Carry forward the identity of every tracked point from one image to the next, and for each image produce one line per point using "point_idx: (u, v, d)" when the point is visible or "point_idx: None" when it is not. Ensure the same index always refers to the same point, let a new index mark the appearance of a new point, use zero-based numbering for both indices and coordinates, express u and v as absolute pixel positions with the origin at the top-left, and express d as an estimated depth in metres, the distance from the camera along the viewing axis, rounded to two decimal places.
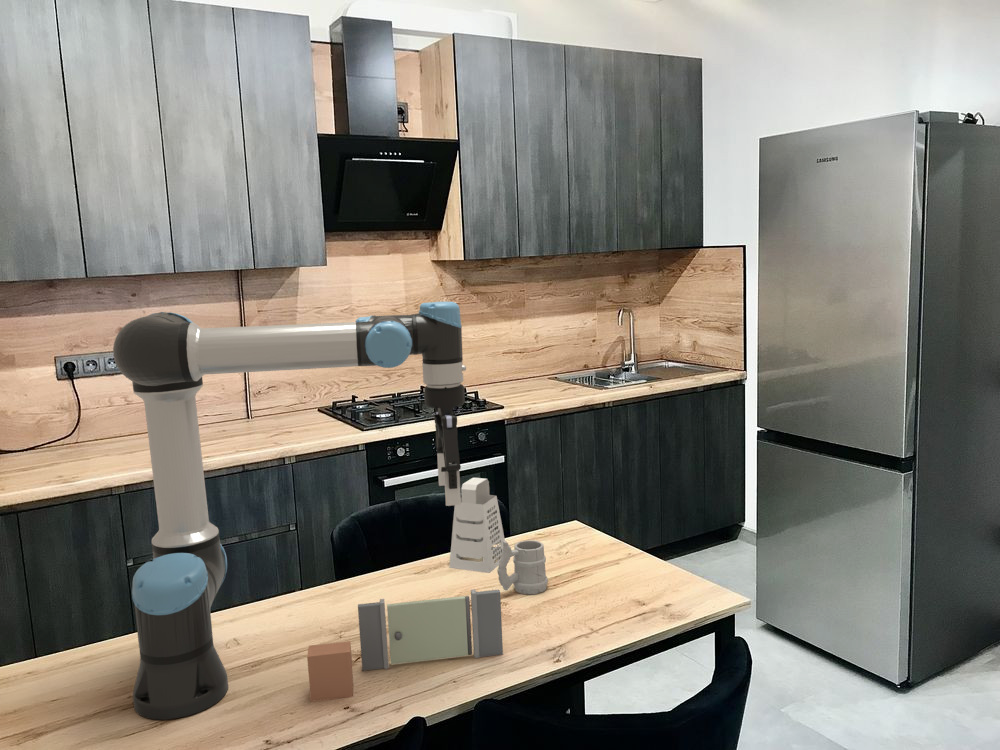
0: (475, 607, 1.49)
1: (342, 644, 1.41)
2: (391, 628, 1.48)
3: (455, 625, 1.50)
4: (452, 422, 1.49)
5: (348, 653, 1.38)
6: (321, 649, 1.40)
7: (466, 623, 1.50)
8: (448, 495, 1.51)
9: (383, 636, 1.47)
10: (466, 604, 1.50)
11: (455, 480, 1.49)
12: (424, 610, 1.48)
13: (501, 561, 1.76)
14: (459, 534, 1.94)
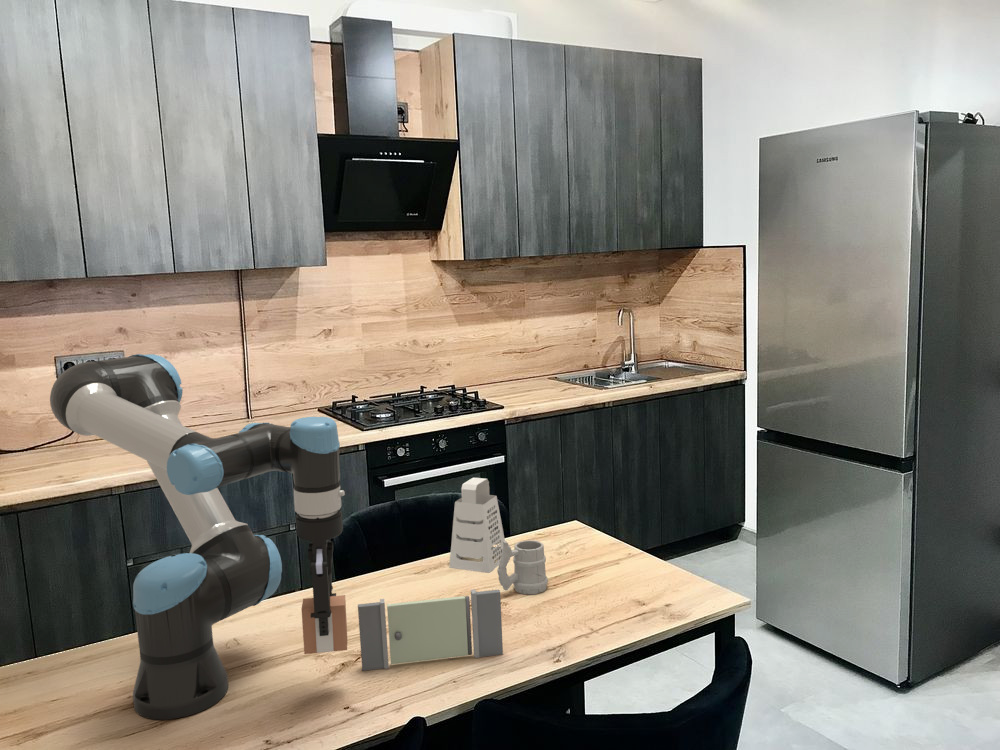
0: (475, 607, 1.49)
1: (337, 598, 1.40)
2: (391, 628, 1.48)
3: (455, 625, 1.50)
4: (322, 570, 1.31)
5: (343, 606, 1.37)
6: None
7: (466, 623, 1.50)
8: (319, 641, 1.37)
9: (383, 636, 1.47)
10: (466, 604, 1.50)
11: (326, 627, 1.35)
12: (424, 610, 1.48)
13: (501, 561, 1.76)
14: (459, 534, 1.94)
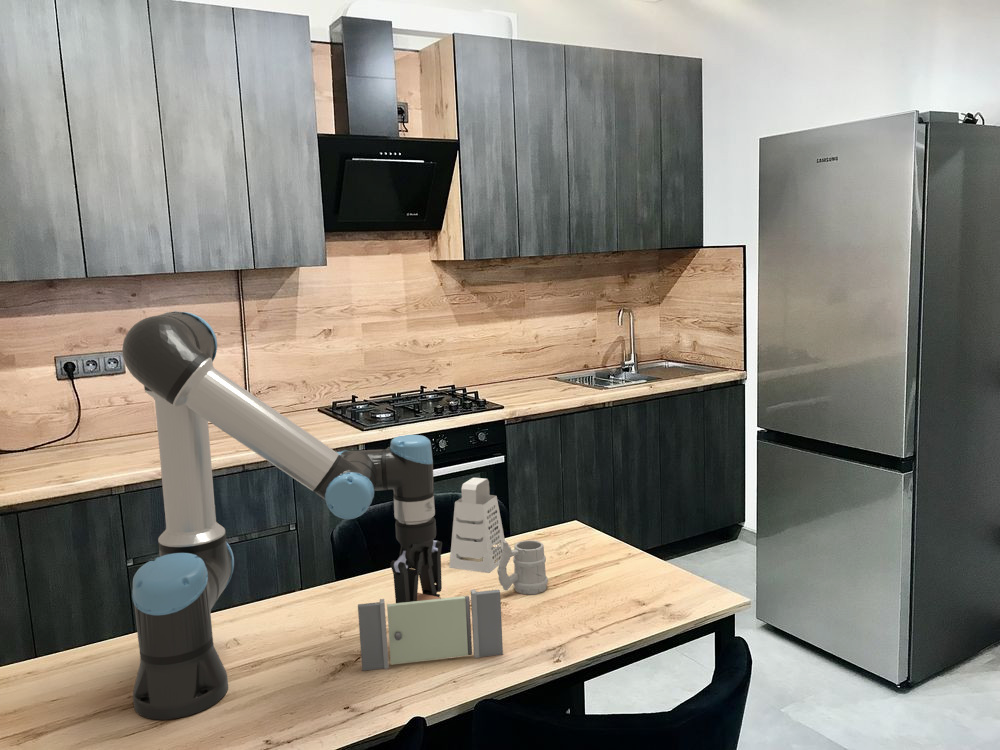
0: (475, 607, 1.49)
1: (432, 598, 1.56)
2: (391, 628, 1.48)
3: (455, 625, 1.50)
4: (399, 570, 1.50)
5: None
6: None
7: (466, 623, 1.50)
8: None
9: (383, 636, 1.47)
10: (466, 604, 1.50)
11: None
12: (424, 610, 1.48)
13: (501, 561, 1.76)
14: (459, 534, 1.94)
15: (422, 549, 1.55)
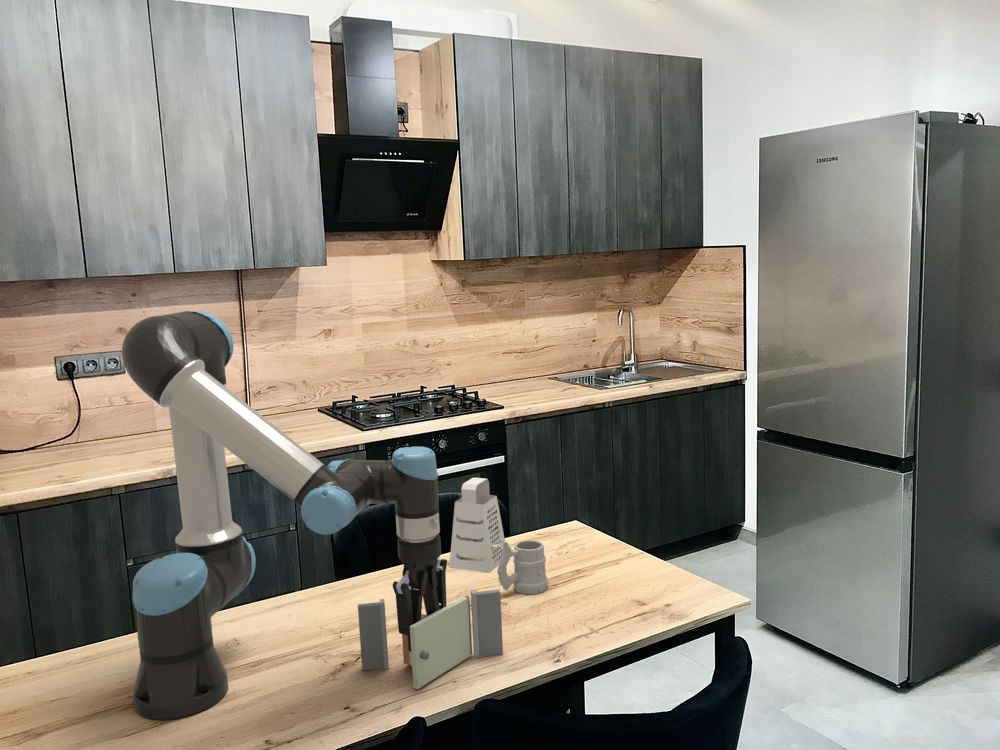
0: (475, 607, 1.49)
1: None
2: (417, 649, 1.39)
3: (461, 628, 1.48)
4: (402, 591, 1.40)
5: None
6: None
7: (468, 623, 1.50)
8: None
9: (383, 636, 1.47)
10: (468, 604, 1.50)
11: None
12: (440, 621, 1.44)
13: (501, 561, 1.76)
14: (459, 534, 1.94)
15: (426, 568, 1.45)
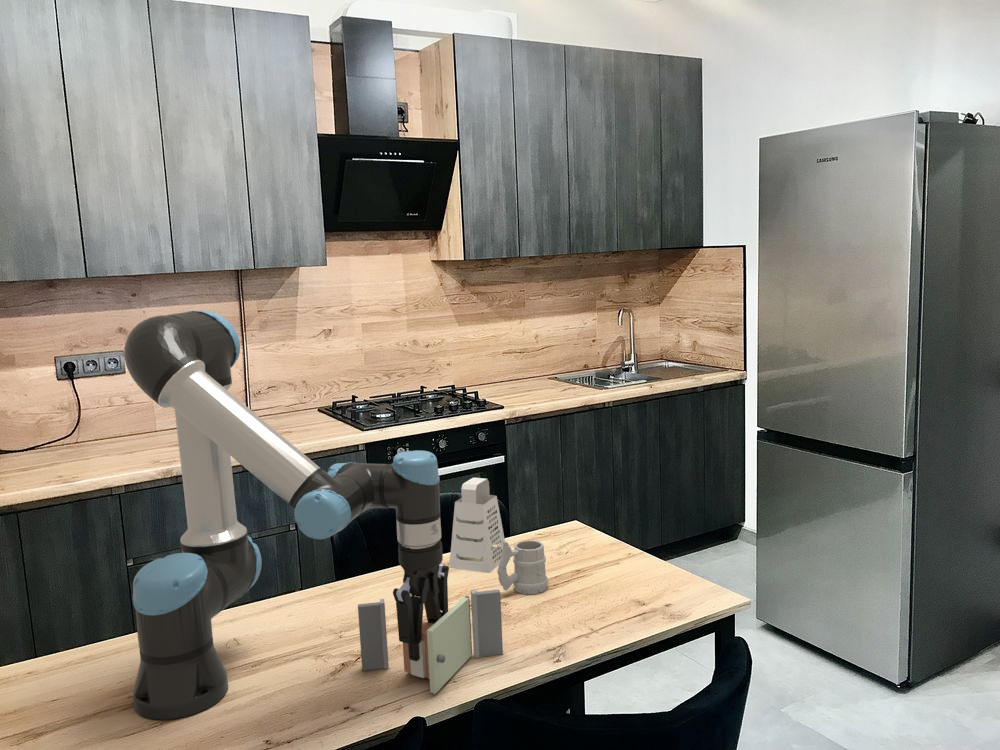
0: (475, 607, 1.49)
1: None
2: (435, 653, 1.38)
3: (465, 628, 1.48)
4: (402, 598, 1.37)
5: None
6: None
7: (469, 623, 1.50)
8: (413, 665, 1.43)
9: (383, 636, 1.47)
10: (468, 604, 1.50)
11: (414, 653, 1.41)
12: (450, 622, 1.43)
13: (501, 561, 1.76)
14: (459, 534, 1.94)
15: (427, 575, 1.42)
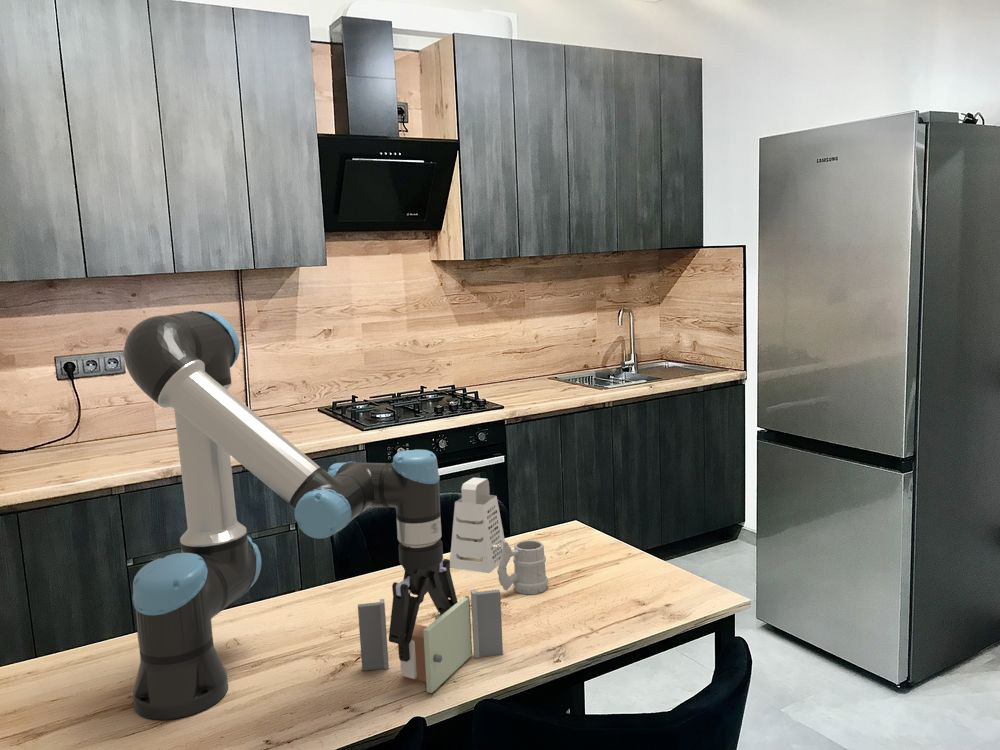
0: (475, 607, 1.49)
1: None
2: (431, 653, 1.38)
3: (464, 628, 1.48)
4: (400, 592, 1.37)
5: None
6: (418, 630, 1.45)
7: (469, 623, 1.50)
8: (403, 665, 1.41)
9: (383, 636, 1.47)
10: (468, 604, 1.50)
11: (404, 653, 1.38)
12: (448, 622, 1.43)
13: (501, 561, 1.76)
14: (459, 534, 1.94)
15: (427, 576, 1.42)
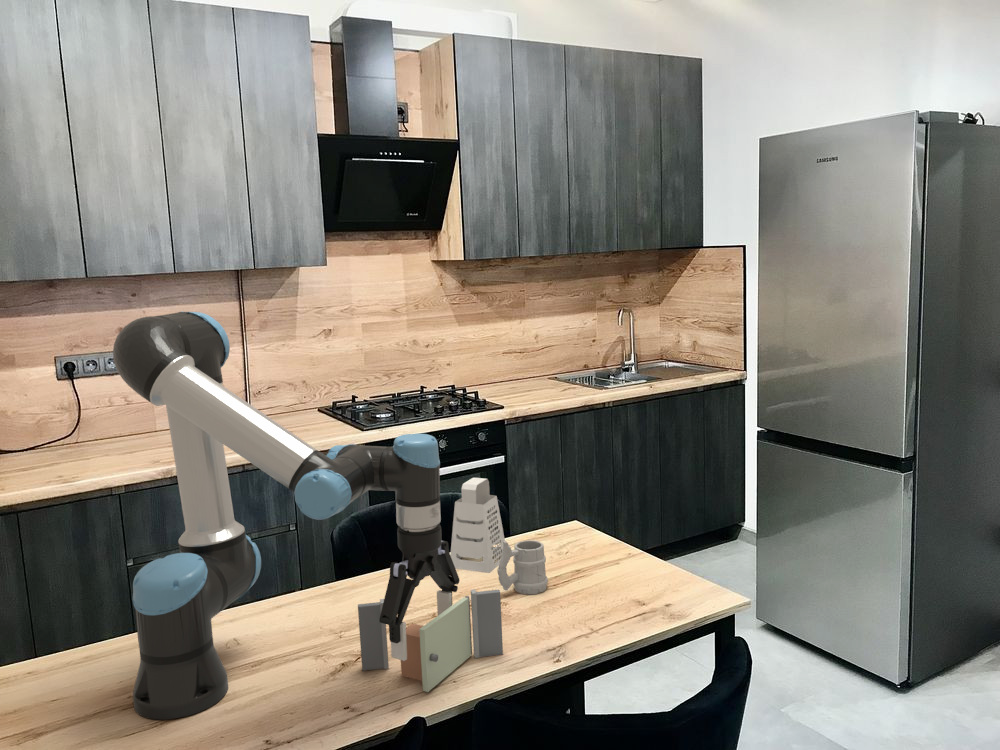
0: (475, 607, 1.49)
1: None
2: (427, 652, 1.38)
3: (463, 628, 1.48)
4: (398, 572, 1.36)
5: None
6: (416, 630, 1.45)
7: (469, 623, 1.50)
8: (393, 647, 1.39)
9: (383, 636, 1.47)
10: (468, 604, 1.50)
11: (394, 634, 1.37)
12: (446, 622, 1.43)
13: (501, 561, 1.76)
14: (459, 534, 1.94)
15: (426, 562, 1.42)
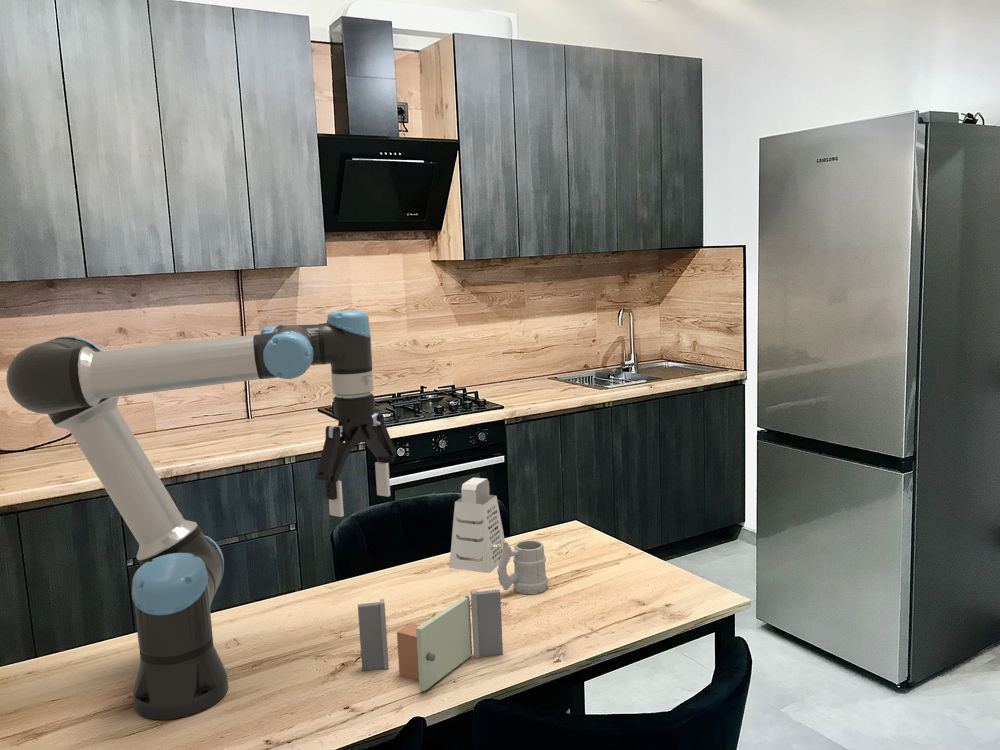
0: (475, 607, 1.49)
1: None
2: (424, 651, 1.39)
3: (463, 628, 1.48)
4: (332, 433, 1.48)
5: None
6: (414, 629, 1.45)
7: (469, 623, 1.50)
8: (331, 505, 1.51)
9: (383, 636, 1.47)
10: (468, 604, 1.50)
11: (330, 491, 1.48)
12: (444, 621, 1.43)
13: (501, 561, 1.76)
14: (459, 534, 1.94)
15: (361, 429, 1.54)
